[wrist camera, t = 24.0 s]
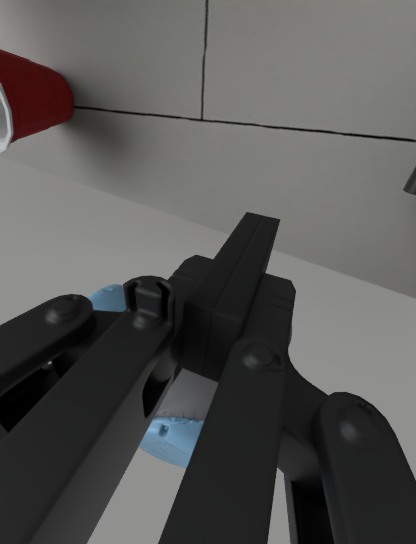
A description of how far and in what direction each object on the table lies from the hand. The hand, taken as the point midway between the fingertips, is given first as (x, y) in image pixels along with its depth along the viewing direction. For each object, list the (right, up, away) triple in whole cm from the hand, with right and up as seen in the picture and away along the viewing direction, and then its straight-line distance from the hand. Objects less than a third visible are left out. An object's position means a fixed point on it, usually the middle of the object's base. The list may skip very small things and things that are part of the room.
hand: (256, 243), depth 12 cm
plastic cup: (-22, +22, +22) cm, 38 cm away
